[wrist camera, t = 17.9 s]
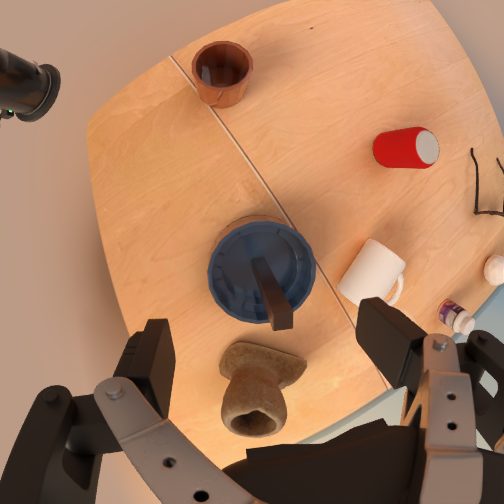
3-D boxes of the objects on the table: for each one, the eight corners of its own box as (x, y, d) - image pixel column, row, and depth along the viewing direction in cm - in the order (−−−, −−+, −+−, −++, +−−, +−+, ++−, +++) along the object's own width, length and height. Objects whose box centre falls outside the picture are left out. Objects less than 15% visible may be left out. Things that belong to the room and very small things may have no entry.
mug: (329, 281, 46) (347, 301, 39) (361, 233, 45) (385, 244, 37) (372, 308, 49) (393, 328, 42) (401, 266, 48) (426, 280, 40)
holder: (197, 110, 37) (192, 93, 28) (197, 67, 35) (191, 43, 26) (247, 107, 37) (254, 89, 29) (245, 65, 35) (251, 40, 27)
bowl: (214, 309, 45) (214, 327, 40) (205, 218, 41) (202, 225, 36) (303, 300, 47) (313, 317, 41) (303, 212, 43) (315, 217, 37)
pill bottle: (454, 300, 52) (480, 316, 43) (445, 320, 54) (469, 338, 44) (442, 297, 51) (469, 315, 42) (433, 318, 53) (458, 338, 43)
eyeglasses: (467, 212, 47) (482, 216, 42) (468, 146, 42) (484, 147, 38) (496, 215, 48) (510, 218, 43) (498, 157, 44) (512, 158, 39)
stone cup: (208, 376, 49) (207, 435, 35) (234, 330, 47) (240, 389, 33) (276, 395, 52) (290, 450, 38) (305, 354, 50) (331, 408, 36)
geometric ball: (481, 268, 55) (494, 292, 50) (476, 264, 51) (491, 291, 46) (500, 251, 50) (513, 275, 45) (497, 245, 46) (513, 272, 41)
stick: (252, 270, 43) (273, 331, 26) (251, 258, 43) (272, 313, 26) (265, 269, 44) (293, 328, 26) (264, 257, 43) (293, 311, 26)
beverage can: (363, 148, 41) (406, 143, 29) (383, 126, 40) (427, 117, 29) (384, 174, 42) (429, 178, 31) (403, 152, 42) (448, 151, 30)
